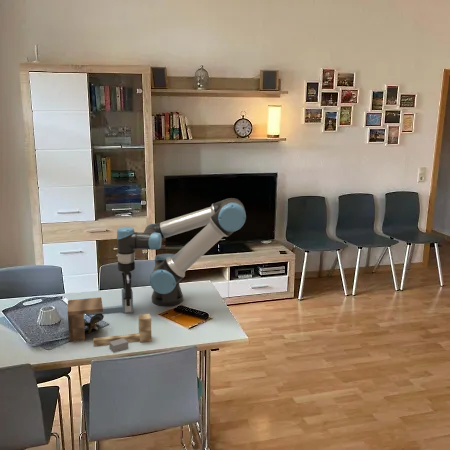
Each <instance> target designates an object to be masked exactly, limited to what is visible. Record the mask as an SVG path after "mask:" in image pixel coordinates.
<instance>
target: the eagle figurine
mask: <svg viewBox="0 0 450 450" xmlns="http://www.w3.org/2000/svg"><path fill="white" fill-rule="evenodd" d="M104 317H105V316H104V314H101V313H99V314H96V315H92V316H91V318H90V319H89V322H88V321H86V322H84V327H87V328H85V330H86V331H88V332H87V334H89V335H90V333H91V331H92V329H94V330H96V331H99V328H98V323H99V322H101V321H103V320H104Z"/></svg>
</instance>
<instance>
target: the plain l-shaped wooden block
mask: <svg viewBox="0 0 450 450" xmlns="http://www.w3.org/2000/svg"><path fill="white" fill-rule="evenodd" d="M137 315H138V333H130V334H120V335H111V336H101V337H93V347H101V346H108V345H109V342H111V341H114V340H118V339H121V338H124V339H125V340H127V341H128V343H135V342H139V343H146V342H147V343H149V342H152V317H151V313H144V314H137ZM109 346H110V345H109Z"/></svg>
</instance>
